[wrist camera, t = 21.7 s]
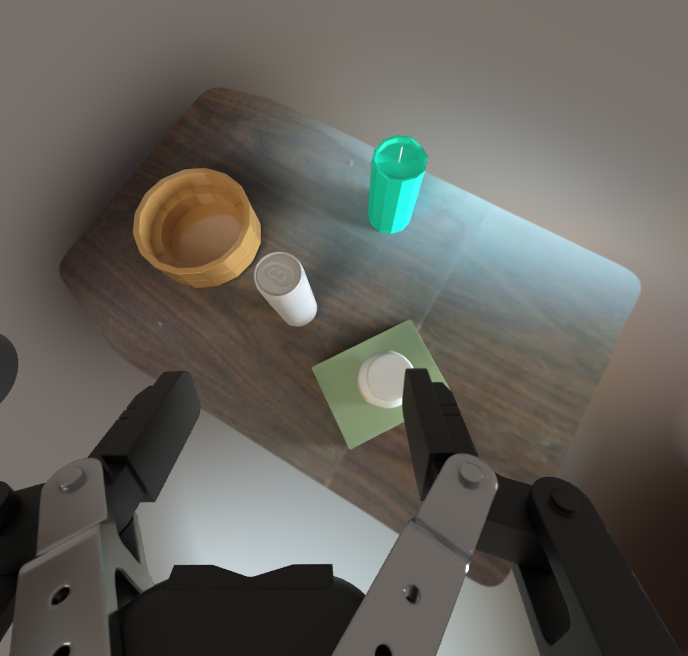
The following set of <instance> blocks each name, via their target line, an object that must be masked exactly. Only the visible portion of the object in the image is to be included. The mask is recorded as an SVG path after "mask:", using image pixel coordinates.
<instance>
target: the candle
mask: <svg viewBox="0 0 688 656" xmlns="http://www.w3.org/2000/svg"><path fill="white" fill-rule="evenodd" d="M427 158H428V156H427V154H426V153H425V151H424V149H423V148H422V146H421V145H419V144H418V143H417V142H416V141H415V140H414V139H413V138H412V137H408V136H394V137H391V138H388V139H385V140H383V141H382V142H381V143H380V144H379V146H378V147H377V148H376V149H375V150H374V154H373V158H372V166H371V179H370V192H369V205H368V218H369V220H370V223H371V225H372V226H373V227H374V228H376V229H377V230H378V231H380V232H384V233H390V234H392V233H395V232H398V231H401V230H403V228H404V227H405V226H406V225H407V224H408V223H409V221H410V218H411V214H412V211H413V208H414V205H415V201H416V198H417V195H418V192H419V188H420V185H421V182H422V179H423V176H424V172H425V168H426V163H427Z"/></svg>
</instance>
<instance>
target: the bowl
mask: <svg viewBox="0 0 688 656" xmlns="http://www.w3.org/2000/svg"><path fill="white" fill-rule="evenodd" d="M133 235H134V238H135V241H136V243H137V246H138V249H139V252H140V254H141V255H143V256H144V257H145V258H146V259H147V260H148V261H149V262H150V263H151V264H152V265H153V266H154V267H155V268H157V269H158V270H160V271H161V272H163V273H164V274H166V275H167V276H169V277H170V278H172V279H173V280H175V281H176V282H179V283H182V284H185V285H188V286H191V287H194V288H201V287H215V286H219V285H221V284H223V283H225V282H227V281H230V280H232V279H234V278H236V277H238V276H239V275H240V274H241V273H242V272H243V271H244V270H245V269H246V268H247V267H248V266H249V265H250V264H251V263H252V262H253V260H254V257H255V255H256V253H257V250H258V248H259V246H260V244H261V224H260V222H259V220H258V217H257V215H256V213H255V211H254V209H253V207H252V205H251V203H250V201H249V199H248V197H247V196H246V194H245V192H244V190H243V188H242V186H241V185H239V184H238V183H237V182H236V181H234V180H233V179H232V178H231V177H229V176H228V175H227V174H225V173H222V172H218V171H215V170H211V169H208V168H198V169H185V170H181V171H179V172H177V173H174V174H172V175H170V176H167V177H165V178H163V179H161V180H160V181H159V182H158V183H157V184H156V185H154V186H153V187H152V188H151V189H150V190H149V191H148V192H147V193H146V194H145V195H144V197H143V199H142V201H141V203H140V205H139V206H138V208H137V210H136V212H135V217H134V227H133Z"/></svg>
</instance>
